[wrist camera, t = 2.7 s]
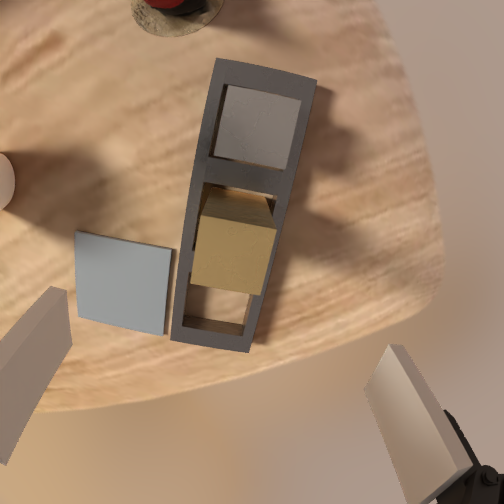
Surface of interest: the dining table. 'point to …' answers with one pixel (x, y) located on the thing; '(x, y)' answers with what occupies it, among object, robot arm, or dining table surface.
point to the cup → (6, 181)
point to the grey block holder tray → (239, 177)
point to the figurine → (174, 15)
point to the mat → (121, 282)
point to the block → (257, 127)
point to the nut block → (233, 242)
